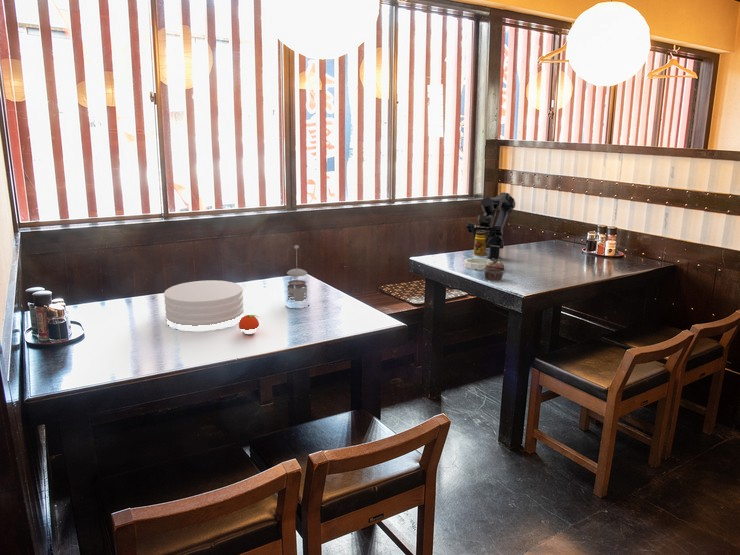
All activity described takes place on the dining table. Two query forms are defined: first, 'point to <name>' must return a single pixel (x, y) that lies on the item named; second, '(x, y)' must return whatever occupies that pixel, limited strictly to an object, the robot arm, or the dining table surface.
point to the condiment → (480, 244)
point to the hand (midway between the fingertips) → (480, 242)
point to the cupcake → (494, 270)
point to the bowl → (476, 263)
